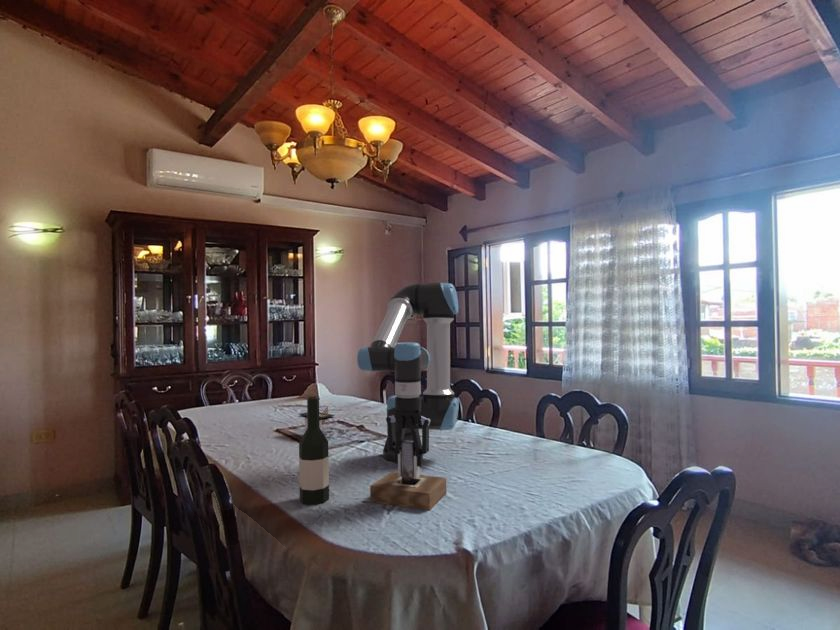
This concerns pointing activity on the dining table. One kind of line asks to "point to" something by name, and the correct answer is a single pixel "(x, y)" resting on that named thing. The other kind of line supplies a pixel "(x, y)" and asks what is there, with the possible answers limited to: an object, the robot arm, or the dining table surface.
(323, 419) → the architectural model
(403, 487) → the socket
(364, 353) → the robot arm
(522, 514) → the dining table surface
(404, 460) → the peg
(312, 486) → the wine bottle
